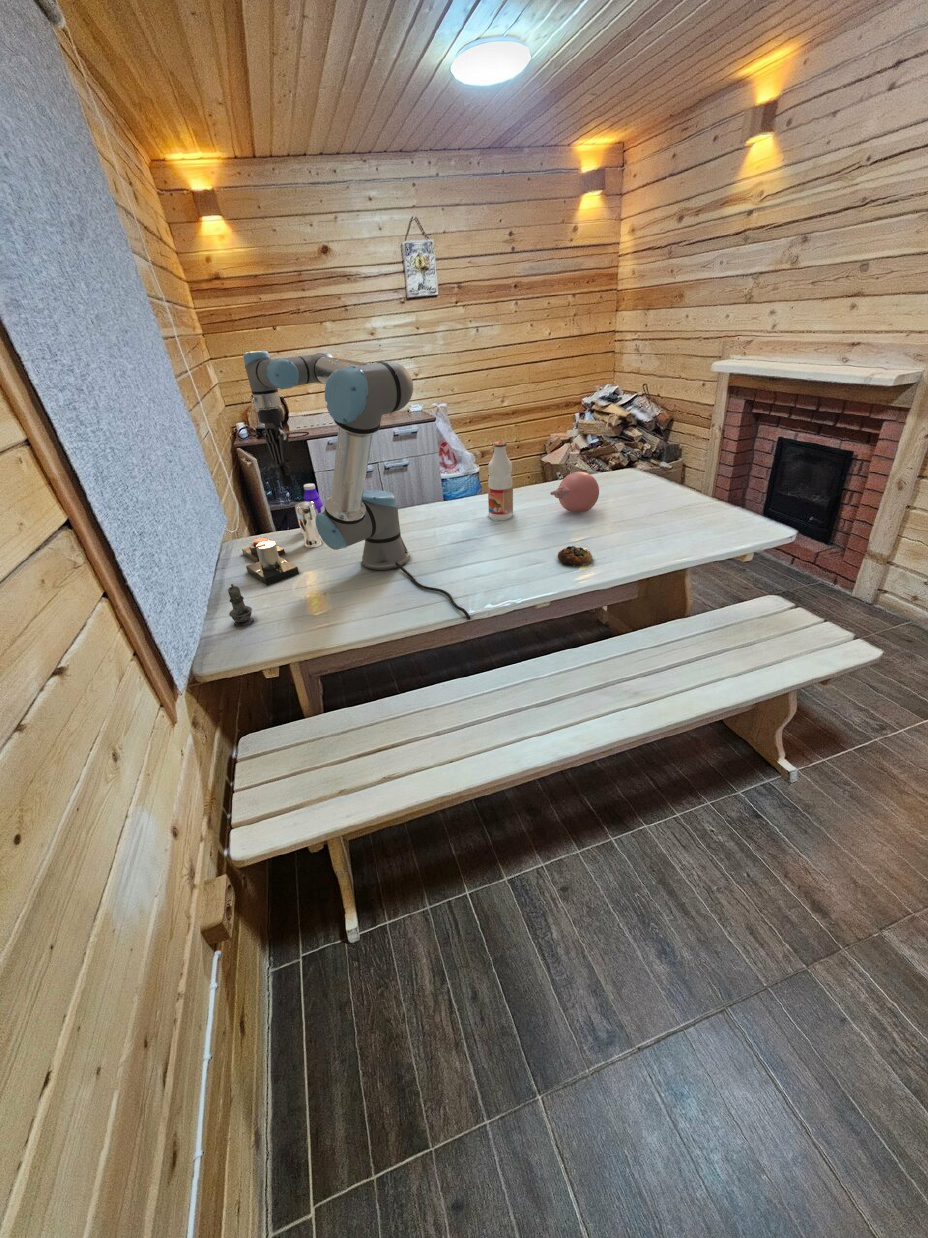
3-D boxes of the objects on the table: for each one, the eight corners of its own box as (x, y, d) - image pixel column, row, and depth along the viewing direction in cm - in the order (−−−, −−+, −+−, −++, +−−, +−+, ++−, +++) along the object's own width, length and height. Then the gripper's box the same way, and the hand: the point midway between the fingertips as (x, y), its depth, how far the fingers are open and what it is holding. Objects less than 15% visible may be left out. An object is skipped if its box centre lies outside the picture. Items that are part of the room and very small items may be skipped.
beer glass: (318, 548, 184) (309, 508, 176) (300, 548, 185) (290, 507, 177) (326, 540, 190) (318, 501, 182) (308, 540, 191) (299, 500, 183)
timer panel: (299, 573, 167) (297, 566, 166) (267, 585, 161) (265, 578, 160) (278, 561, 176) (277, 554, 175) (247, 572, 170) (245, 565, 168)
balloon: (539, 510, 205) (540, 472, 197) (584, 502, 210) (586, 464, 202) (558, 523, 193) (560, 482, 185) (605, 514, 198) (609, 474, 190)
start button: (271, 544, 180) (270, 539, 179) (258, 548, 177) (256, 543, 176) (265, 540, 183) (263, 535, 182) (251, 545, 180) (250, 540, 179)
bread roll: (553, 564, 163) (555, 549, 161) (560, 555, 172) (562, 540, 170) (589, 570, 159) (591, 554, 157) (594, 559, 169) (596, 544, 167)
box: (285, 554, 181) (282, 543, 179) (258, 563, 176) (255, 552, 173) (269, 545, 189) (267, 535, 187) (243, 554, 183) (240, 543, 181)
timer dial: (276, 560, 171) (270, 538, 167) (284, 565, 167) (278, 543, 163) (258, 566, 168) (252, 544, 164) (266, 572, 164) (259, 549, 160)
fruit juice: (515, 519, 199) (515, 444, 184) (491, 522, 198) (489, 446, 183) (509, 511, 207) (509, 438, 192) (486, 513, 206) (484, 440, 191)
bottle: (330, 527, 201) (321, 482, 192) (322, 532, 197) (313, 487, 188) (314, 525, 204) (304, 482, 195) (305, 531, 199) (296, 486, 190)
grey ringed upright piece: (236, 617, 145) (223, 579, 139) (257, 616, 145) (246, 577, 139) (230, 629, 140) (216, 590, 134) (252, 627, 140) (239, 588, 134)
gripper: (247, 408, 160) (267, 484, 172) (267, 411, 152) (286, 490, 164) (270, 404, 165) (288, 478, 177) (290, 407, 156) (307, 484, 168)
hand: (287, 484), depth 170 cm, fingers closed
